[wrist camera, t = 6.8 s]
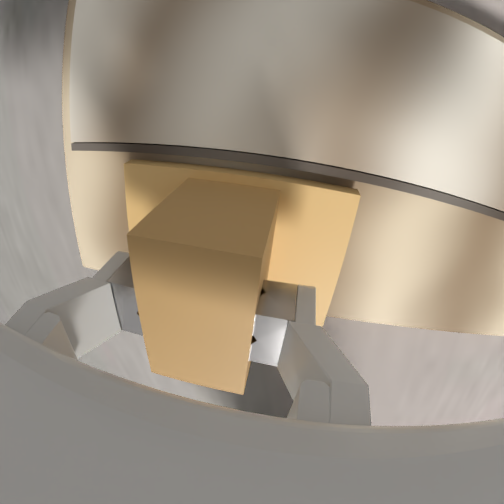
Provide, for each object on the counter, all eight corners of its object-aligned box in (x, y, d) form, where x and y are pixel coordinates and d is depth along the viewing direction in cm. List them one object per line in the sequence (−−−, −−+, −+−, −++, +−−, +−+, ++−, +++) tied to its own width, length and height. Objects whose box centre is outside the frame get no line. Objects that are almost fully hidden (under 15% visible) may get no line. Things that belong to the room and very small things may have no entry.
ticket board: (591, 112, 6) (611, 119, 4) (512, 325, 13) (522, 344, 11) (83, -1, 8) (60, -5, 7) (93, 256, 15) (76, 272, 14)
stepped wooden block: (357, 189, 10) (388, 266, 6) (322, 316, 13) (320, 411, 9) (131, 159, 10) (47, 209, 6) (142, 282, 13) (91, 355, 9)
